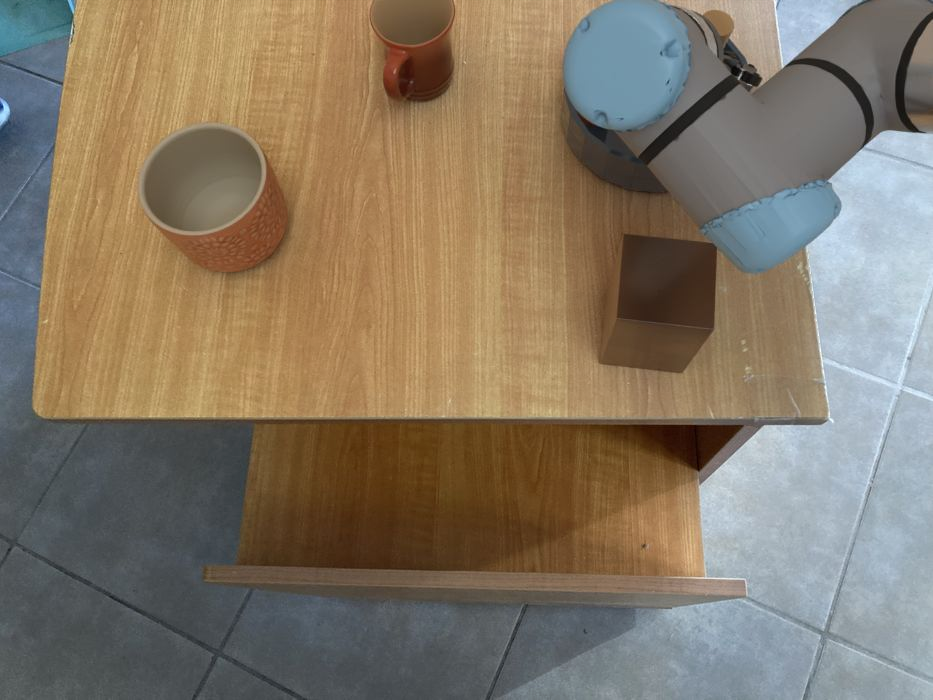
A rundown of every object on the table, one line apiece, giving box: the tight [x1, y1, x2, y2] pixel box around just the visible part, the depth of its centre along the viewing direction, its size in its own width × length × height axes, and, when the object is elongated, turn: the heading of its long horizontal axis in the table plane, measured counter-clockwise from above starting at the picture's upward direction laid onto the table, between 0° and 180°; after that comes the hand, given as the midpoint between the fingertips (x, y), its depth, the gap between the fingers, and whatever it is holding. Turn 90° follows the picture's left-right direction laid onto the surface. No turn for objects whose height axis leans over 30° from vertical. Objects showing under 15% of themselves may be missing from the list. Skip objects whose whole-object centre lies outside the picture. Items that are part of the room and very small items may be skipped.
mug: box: [368, 0, 456, 102], centre depth 82 cm, size 12×9×10 cm
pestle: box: [702, 9, 735, 49], centre depth 75 cm, size 5×5×15 cm
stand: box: [599, 233, 718, 374], centre depth 70 cm, size 8×8×12 cm
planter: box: [136, 121, 288, 273], centre depth 76 cm, size 12×12×11 cm
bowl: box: [560, 37, 748, 194], centre depth 81 cm, size 19×19×6 cm
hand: (709, 57), depth 78 cm, fingers closed on pestle, 3 cm apart
